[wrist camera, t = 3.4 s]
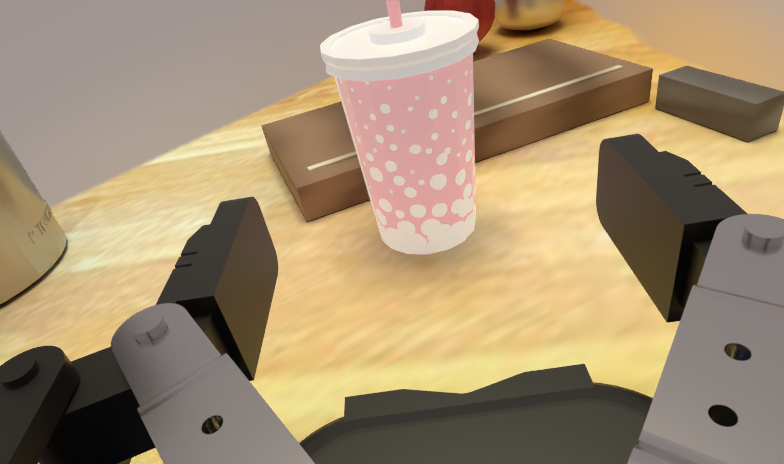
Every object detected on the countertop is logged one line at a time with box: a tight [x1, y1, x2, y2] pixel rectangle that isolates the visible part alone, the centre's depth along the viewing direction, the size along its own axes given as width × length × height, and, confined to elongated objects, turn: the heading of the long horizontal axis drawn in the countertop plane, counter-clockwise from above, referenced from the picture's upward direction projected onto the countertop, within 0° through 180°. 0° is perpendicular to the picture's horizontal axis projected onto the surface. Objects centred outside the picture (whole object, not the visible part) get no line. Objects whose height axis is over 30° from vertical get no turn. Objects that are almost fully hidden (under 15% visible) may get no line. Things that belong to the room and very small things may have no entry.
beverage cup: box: [320, 0, 479, 254], centre depth 21 cm, size 6×6×14 cm
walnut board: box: [262, 39, 784, 222], centre depth 30 cm, size 24×17×2 cm
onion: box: [425, 0, 495, 42], centre depth 44 cm, size 6×6×8 cm
